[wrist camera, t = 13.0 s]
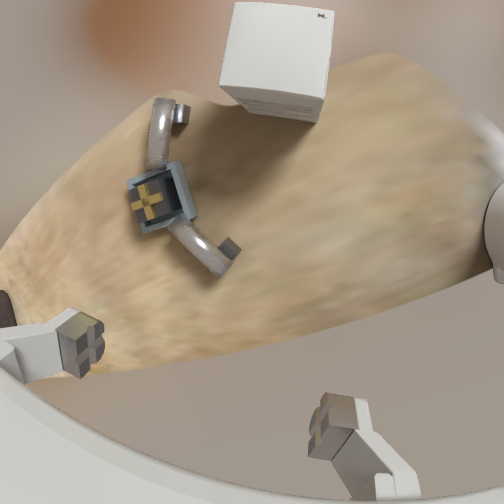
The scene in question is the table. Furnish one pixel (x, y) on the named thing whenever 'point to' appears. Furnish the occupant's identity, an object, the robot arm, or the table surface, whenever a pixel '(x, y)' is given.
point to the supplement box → (278, 59)
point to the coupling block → (155, 199)
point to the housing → (182, 188)
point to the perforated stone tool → (6, 311)
